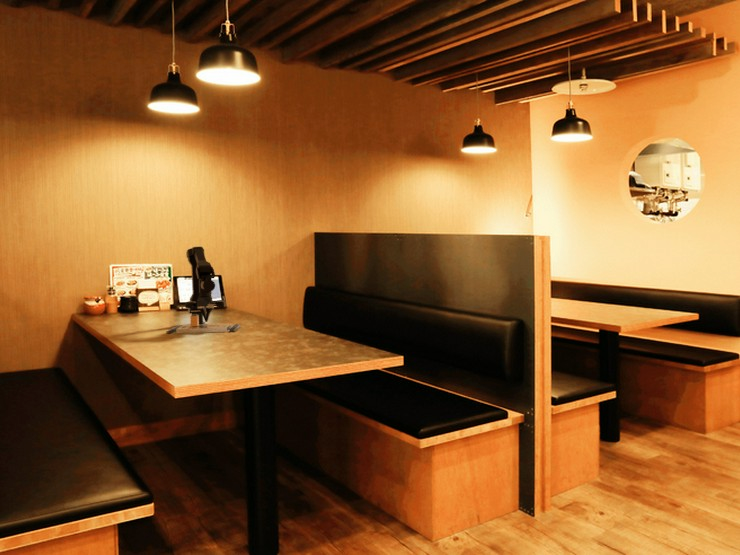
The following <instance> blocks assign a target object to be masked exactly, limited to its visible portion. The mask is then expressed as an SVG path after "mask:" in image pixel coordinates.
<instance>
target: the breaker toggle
mask: <svg viewBox="0 0 740 555" xmlns="http://www.w3.org/2000/svg"><path fill="white" fill-rule="evenodd" d="M189 319H190V324H191V326H198V325H199V315H197V314H192V313H191V314H190V318H189Z"/></svg>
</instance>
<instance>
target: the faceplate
mask: <svg viewBox="0 0 740 555" xmlns="http://www.w3.org/2000/svg"><path fill="white" fill-rule="evenodd" d="M180 326H181V327H179V328H177V329H176V331H175V332H176V334H194V333H195V334H196V333H197V334H201V333H202V334H203V333H228V332H230V331H229V330H230V329H231V328H232V327H233V326H234V325H233V322H229V323H226V322H225V323H204V324H199V325H198V326H191V323H189V324H183V325H180Z"/></svg>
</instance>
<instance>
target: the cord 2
mask: <svg viewBox="0 0 740 555" xmlns="http://www.w3.org/2000/svg"><path fill="white" fill-rule="evenodd" d="M232 326H233V327H232V328H231V329H230V330H229V331H228V332H230V333H231V332H234V333H235V332H237V330H239V329H240V328H241V327H242V325H241V324H238V323H235V324H234V325H232Z"/></svg>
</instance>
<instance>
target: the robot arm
mask: <svg viewBox="0 0 740 555" xmlns="http://www.w3.org/2000/svg"><path fill="white" fill-rule="evenodd" d="M185 256H186V259H187V262H188V263H189V264H190V267H191V268H190V269H191V286H192V287H191V288H192V294H191V296H190V297H189V300H188V301H186V302H185V309H187V312H188V314H191V315H192V314H197V315H199V324H206V323H207V322H209V318H210V315H211V313H212V310H213V309H215V307H216V308H226V307H227V302H226V300H225V299H224V300H217V301H214V302H213V296H212V293H213V291H214V290H215V287H216V283H215V281H214V280H212V279H215V277H216V274H215V270H214V268H213V266H212V265H211V262H209V261H207V259H206V254H205V249H204V247H203V246H193V247H191V248H189V249H187V250H186V255H185Z"/></svg>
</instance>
